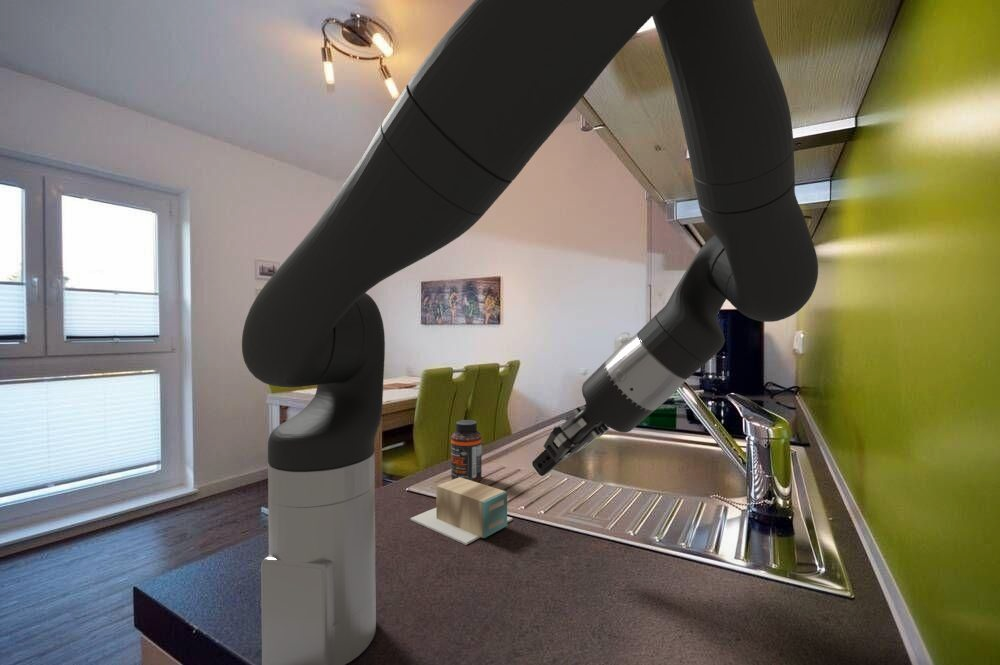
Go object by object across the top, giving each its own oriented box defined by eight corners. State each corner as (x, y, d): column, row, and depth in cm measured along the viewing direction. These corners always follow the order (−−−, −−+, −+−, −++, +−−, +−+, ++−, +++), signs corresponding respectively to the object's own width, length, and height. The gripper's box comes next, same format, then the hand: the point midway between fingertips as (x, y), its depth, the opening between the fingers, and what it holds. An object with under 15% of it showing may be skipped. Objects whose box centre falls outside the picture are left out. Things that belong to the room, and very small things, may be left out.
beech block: (507, 491, 63) (459, 477, 69) (484, 502, 59) (436, 485, 66) (507, 525, 63) (460, 508, 69) (484, 538, 59) (436, 518, 66)
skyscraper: (618, 410, 154) (617, 332, 154) (639, 412, 149) (638, 332, 149) (610, 414, 147) (609, 332, 147) (631, 416, 143) (631, 332, 143)
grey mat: (512, 519, 66) (512, 517, 66) (466, 545, 58) (465, 542, 58) (457, 500, 73) (457, 498, 73) (410, 520, 66) (410, 518, 66)
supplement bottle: (444, 482, 82) (444, 423, 82) (461, 473, 87) (461, 417, 87) (471, 487, 79) (471, 426, 79) (487, 477, 85) (487, 420, 85)
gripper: (638, 419, 41) (529, 512, 49) (672, 398, 52) (579, 477, 60) (586, 362, 44) (492, 458, 52) (629, 353, 55) (545, 434, 63)
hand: (539, 468), depth 56 cm, fingers closed
